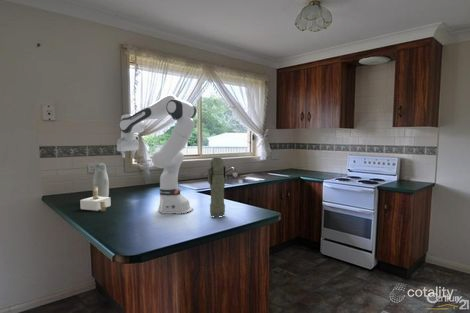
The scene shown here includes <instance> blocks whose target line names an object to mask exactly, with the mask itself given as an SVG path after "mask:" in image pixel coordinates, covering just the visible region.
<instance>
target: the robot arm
mask: <svg viewBox="0 0 470 313" xmlns="http://www.w3.org/2000/svg"><path fill="white" fill-rule="evenodd" d="M197 111H198V110H197V107H196V105H195V104H193V103H191V102H188V101H186V100H183V99H178V97H176V96H175V95H174V94H167V95H166V96H163V97H162V98H160V99H158V100H157V101H156V102H154V103H152V104H151V105H148V106H147V107H145V108H142V109H141V110H139V111H137V112H135V113H134V114H132V113H126V114H123V115H121V118H120V121H119V124H118V125H119V129H120V131H121V133H120V137H119V138H118V139H117V142H116V151H117V152H120V155H121V156H122V158H123V159H124V158H125V159H126V158H127V157H126V156H127V154H125V152H129V151H130V152H131V154H130V157H131V158H133V157H135V154H136V151H138V150H139V149H140V143H139V140H140V137H139V136H138V135H136V134H139V133H143V132H144V131H145V130H146V122H145V121H148V120H160V119H161V120H162V119H163V118H166V117H167V116H170V117H171V118H172V119H173V120H175V121H176V124H175V127H174V128H173V130H172V131H171V134H170V136H169V138H168V139H167V140H166V142H164V144H163V145H162V146H161V147H160V149H158V151H156V152H154V154H153V155H151V156H152V157H151V162H152V165H153V166H154V167H155V168H158V169H159V168H160V169H163V171H162V173H161V174H160V177H159V186H160V187H159V206H158V209H157V210H158V212H160V213H161V214H172V213H176V214H177V215H178V214H181V213H182V214H183V213H185V214H188V213H190V211H191V212H192V211H193V210H194V207H193V206H191V205H190V204H191V203H190V201H189V199H188V198H186V197H185V196H184V195H183V194H181V192H182V188H179V187H178V184H179V182H178V180H179V179H178V178H179V171H180V167H181V165H182V163H183V162H184V160H185V159H184V158H185V157H184V153H183V152H182V150H184V148H185V147H186V145H187V143H188V141H189V140H190V138H191V136H192V134H193V131H194V128H195V126H196V125H195V124H196V123H195V121H194V118H195V117H196V115H197ZM187 212H188V213H187ZM182 214H181V215H182Z"/></svg>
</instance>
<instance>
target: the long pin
mask: <svg viewBox="0 0 470 313" xmlns="http://www.w3.org/2000/svg"><path fill="white" fill-rule="evenodd" d="M92 197H93V199H95V200H96V199H98V187H93V186H92Z"/></svg>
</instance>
